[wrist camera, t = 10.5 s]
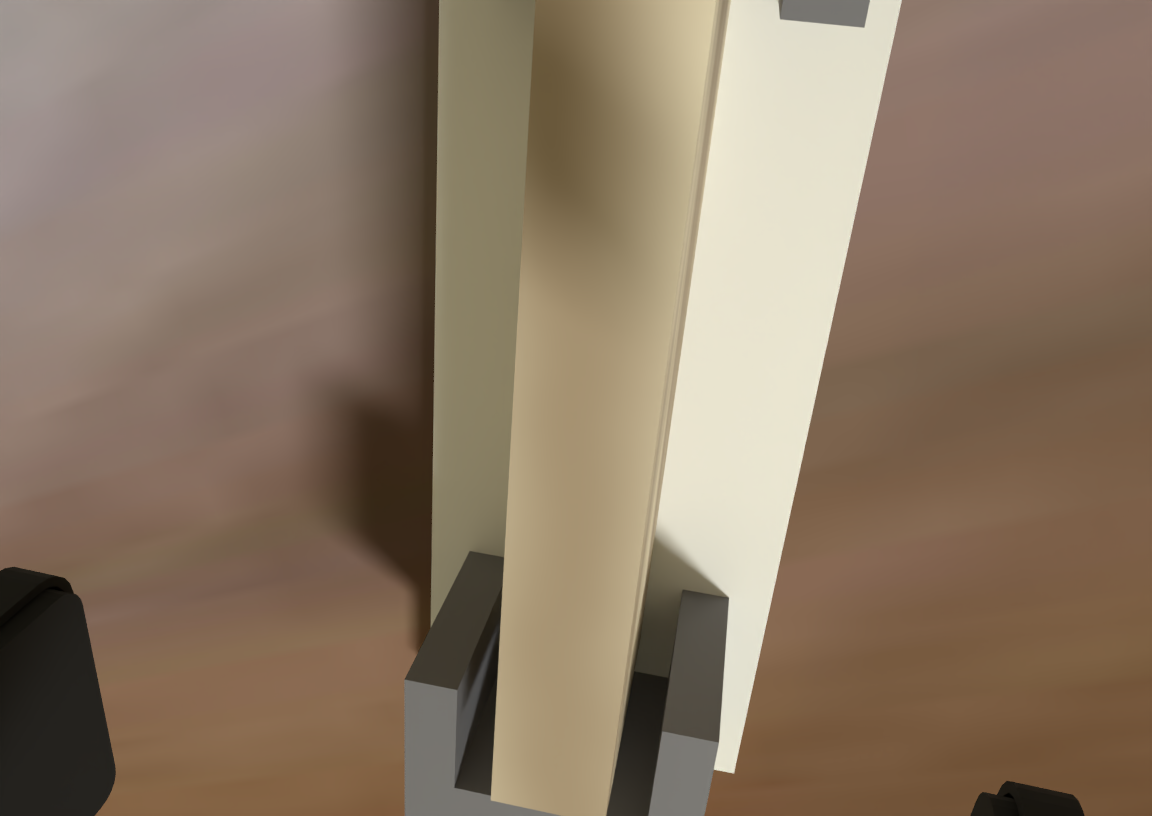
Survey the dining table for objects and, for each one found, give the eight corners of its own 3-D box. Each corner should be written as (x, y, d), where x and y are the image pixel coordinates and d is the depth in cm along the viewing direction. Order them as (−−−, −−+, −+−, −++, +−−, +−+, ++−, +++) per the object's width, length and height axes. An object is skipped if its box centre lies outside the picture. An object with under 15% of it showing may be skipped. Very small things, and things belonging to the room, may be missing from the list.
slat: (748, -125, 17) (736, -157, 12) (640, 641, 25) (604, 824, 20) (614, -136, 18) (545, -172, 12) (549, 624, 26) (490, 799, 20)
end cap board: (969, -364, 16) (1075, -533, 11) (735, 734, 28) (725, 936, 22) (469, -387, 18) (322, -551, 12) (445, 676, 29) (364, 854, 24)
